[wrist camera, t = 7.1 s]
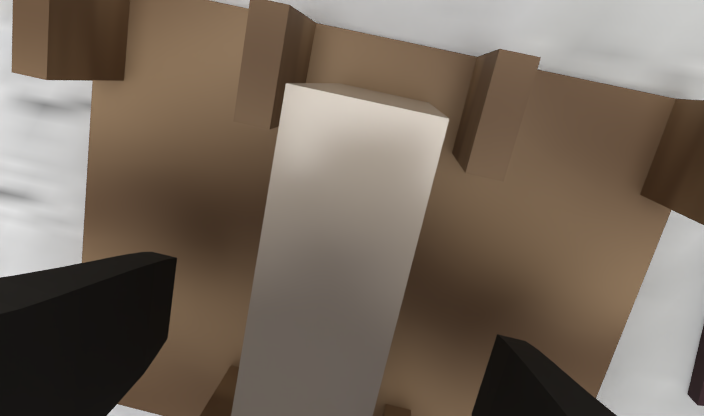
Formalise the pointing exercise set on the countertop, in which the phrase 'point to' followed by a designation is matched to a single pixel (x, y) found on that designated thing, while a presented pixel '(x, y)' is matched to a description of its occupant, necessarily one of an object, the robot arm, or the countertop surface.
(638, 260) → the pegged wooden tray
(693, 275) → the countertop surface
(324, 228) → the clay slab
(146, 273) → the robot arm
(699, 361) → the chocolate bar
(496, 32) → the countertop surface
